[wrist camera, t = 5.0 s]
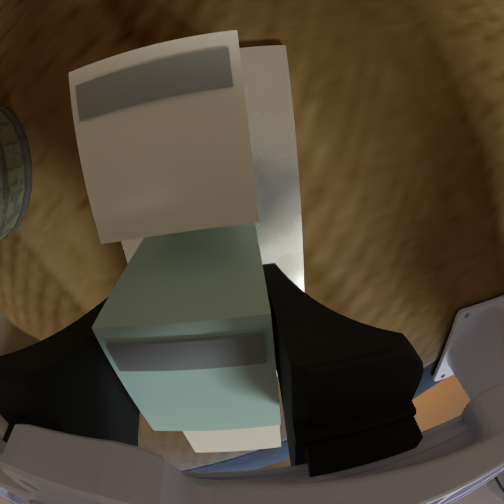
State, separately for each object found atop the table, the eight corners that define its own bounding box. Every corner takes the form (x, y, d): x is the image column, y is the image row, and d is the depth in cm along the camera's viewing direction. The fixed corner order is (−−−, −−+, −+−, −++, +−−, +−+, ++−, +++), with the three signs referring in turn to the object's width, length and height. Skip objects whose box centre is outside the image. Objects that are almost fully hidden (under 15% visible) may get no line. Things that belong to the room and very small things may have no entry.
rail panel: (284, 46, 11) (289, 39, 10) (303, 368, 19) (307, 383, 18) (93, 82, 11) (80, 79, 10) (174, 380, 19) (171, 395, 18)
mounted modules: (236, 64, 10) (236, 28, 5) (272, 378, 17) (281, 448, 13) (128, 85, 10) (66, 72, 5) (200, 385, 17) (195, 454, 13)
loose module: (254, 219, 12) (271, 316, 6) (265, 317, 14) (281, 427, 9) (146, 233, 12) (90, 331, 6) (174, 326, 14) (153, 433, 9)
